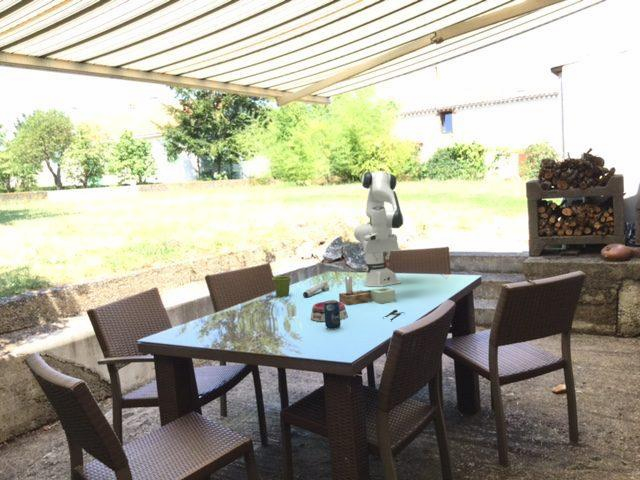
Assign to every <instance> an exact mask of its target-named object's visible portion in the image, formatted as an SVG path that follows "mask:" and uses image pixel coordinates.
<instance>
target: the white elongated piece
mask: <svg viewBox="0 0 640 480" xmlns="http://www.w3.org/2000/svg"><path fill="white" fill-rule="evenodd" d="M320 290H321V292H328V291H329V290H330V285H329V284H328V281H327V280H322V281H321V283H319V284H317V285H315V286H313V287H310V288H309V289H306V290H305V291H304V292H303V293H302V296H303V298H305V299H307V298H309V297H312V296H313V295H315V294H316V293H318V292H319V291H320Z"/></svg>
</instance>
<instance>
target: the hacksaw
mask: <svg viewBox="0 0 640 480" xmlns="http://www.w3.org/2000/svg"><path fill="white" fill-rule="evenodd" d="M402 314H403V315H405V314H406V312H404V311H402V312H398V310H397V309H394V310H392V311H391V312H390V313H388V314H386V315H384V316H383V317H382V318H383V319H385V318H384V317H386V318H387V317H389V316H393V317H391V319H389V320H391V321H392V320H394V319H396V318H397V317H399V316H401V315H402Z"/></svg>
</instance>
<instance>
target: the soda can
mask: <svg viewBox="0 0 640 480" xmlns="http://www.w3.org/2000/svg"><path fill="white" fill-rule="evenodd" d="M324 302H325V304H324V313H325V322H324V323H325V324H324V326H325V327H326V328H327V329H328V328H329V330H336V329H335V328H337V329H339V328H340V327H341V320H340V310H339V304H338V302H339V301H338V300H335V299H333V300H331V299H329V300H326V301H324Z"/></svg>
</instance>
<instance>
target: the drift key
mask: <svg viewBox="0 0 640 480" xmlns="http://www.w3.org/2000/svg"><path fill="white" fill-rule="evenodd" d="M374 289H375V288H374ZM374 289H368V290H363V291H360V290H358V291H359V292H357V293H358V294H359V293H366V292H368V293H371V290H374Z"/></svg>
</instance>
